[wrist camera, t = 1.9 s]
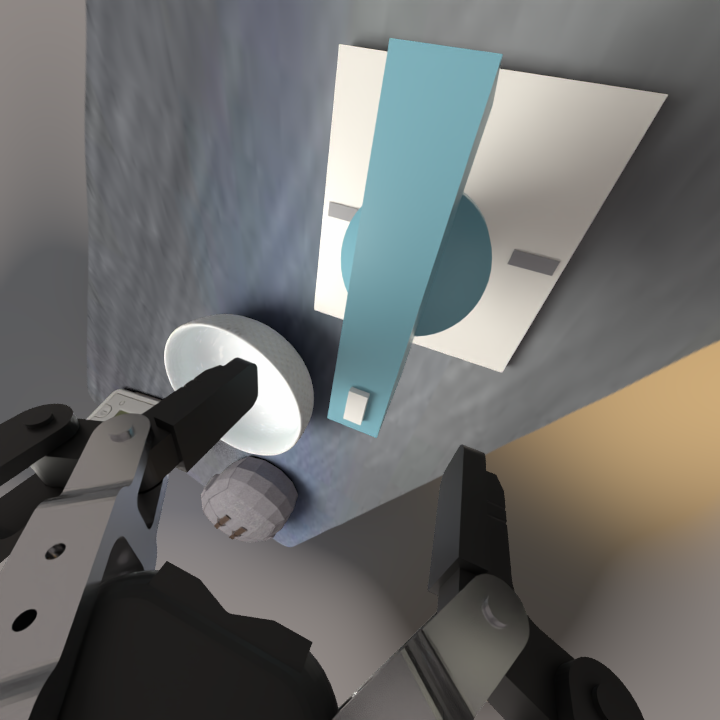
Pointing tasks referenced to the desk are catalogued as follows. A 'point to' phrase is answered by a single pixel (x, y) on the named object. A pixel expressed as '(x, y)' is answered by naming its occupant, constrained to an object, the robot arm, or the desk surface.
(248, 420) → the cereal bowl
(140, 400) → the digital clock
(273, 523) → the small grey backpack
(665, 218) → the desk surface
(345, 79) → the base plate
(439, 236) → the blue switch lever
